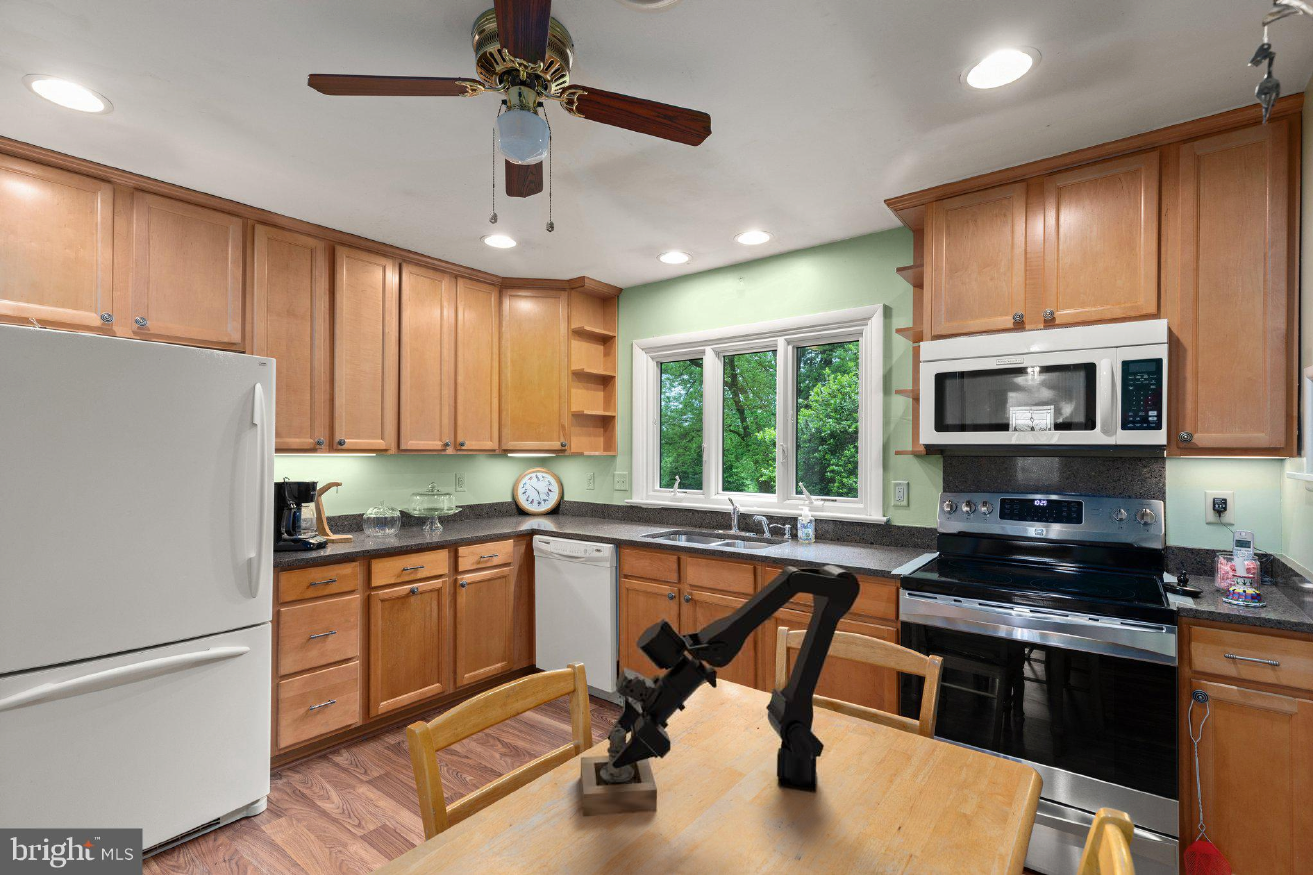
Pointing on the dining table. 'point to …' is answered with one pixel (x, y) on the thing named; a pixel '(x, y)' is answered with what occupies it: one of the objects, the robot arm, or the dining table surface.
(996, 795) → the dining table surface
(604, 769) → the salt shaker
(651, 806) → the holder
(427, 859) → the dining table surface
